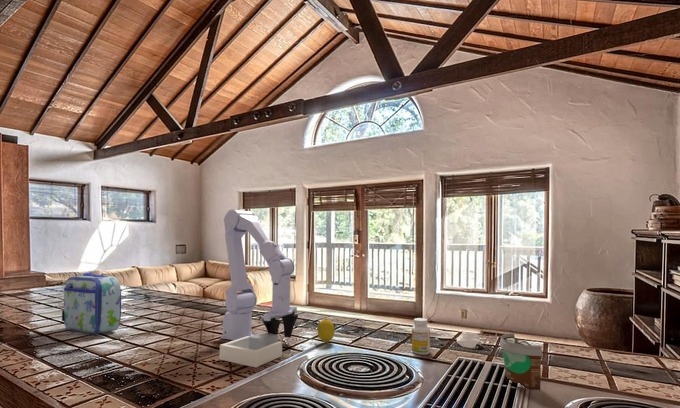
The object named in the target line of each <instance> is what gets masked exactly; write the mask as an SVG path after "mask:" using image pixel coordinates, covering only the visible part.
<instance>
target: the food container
mask: <svg viewBox="0 0 680 408" xmlns="http://www.w3.org/2000/svg"><path fill="white" fill-rule="evenodd" d="M499 347H500V348H501V350H502V354H503V356H502V358H503V364H504V374H505V378H506V377H507V379H509V380H511V381H512V382H514V383H520V384H521V385H523V386H524V387H525V388H527V389H526V390H531V391H541V382H542V381H541V376H542V375H541V373H542V370H541V369H542V368H541V367H542V357H543V349H542V346H541V345H532V344H530V342H528V341H526V340H521V339H520V338H519V339H518V338H516V336H515V333H514V332H513V333H507V334H506V333H505V334H502V335H501V338H500V341H499Z"/></svg>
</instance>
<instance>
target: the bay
mask: <svg viewBox="0 0 680 408" xmlns="http://www.w3.org/2000/svg"><path fill="white" fill-rule="evenodd" d="M249 337H250V336H246V337H243V338H240V339H237V340H230V341H228V342H225V343H222V344H219V360H221V361H225V362H230V363H234V364H238V365H243V366H248V367H252V368H259V367H261V366H262V365H265V364H267V363H269V362H271V361H274V360H276V359H278V358H281V357H282V356H283V341H278V342H276V343H273V344H271V345H268V346H265V347H263V348H260V349H258V350H252V349H249Z"/></svg>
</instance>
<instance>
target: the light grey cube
mask: <svg viewBox="0 0 680 408" xmlns="http://www.w3.org/2000/svg"><path fill="white" fill-rule="evenodd" d="M278 337H279V335H276V334H269V333H268V332H259V333H257V334H254V335H253V336H250V337H249V349H252V350H258V349H260V348H263V347H265V346H268V345H271V344H273V343H276V342H279V341H278Z"/></svg>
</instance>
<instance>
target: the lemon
mask: <svg viewBox="0 0 680 408" xmlns="http://www.w3.org/2000/svg"><path fill="white" fill-rule="evenodd" d="M335 331H336V330H335V325H334V323H333V322H332V321H331V320H330V319H328V318H327V317H326V318H324V319H322V320H320V322H319V323H318V326H317V336H318V338H319V340H320V341H322V342H323V343H325V344H328V342H330V341H331V340H332V339H334V336H335Z"/></svg>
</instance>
